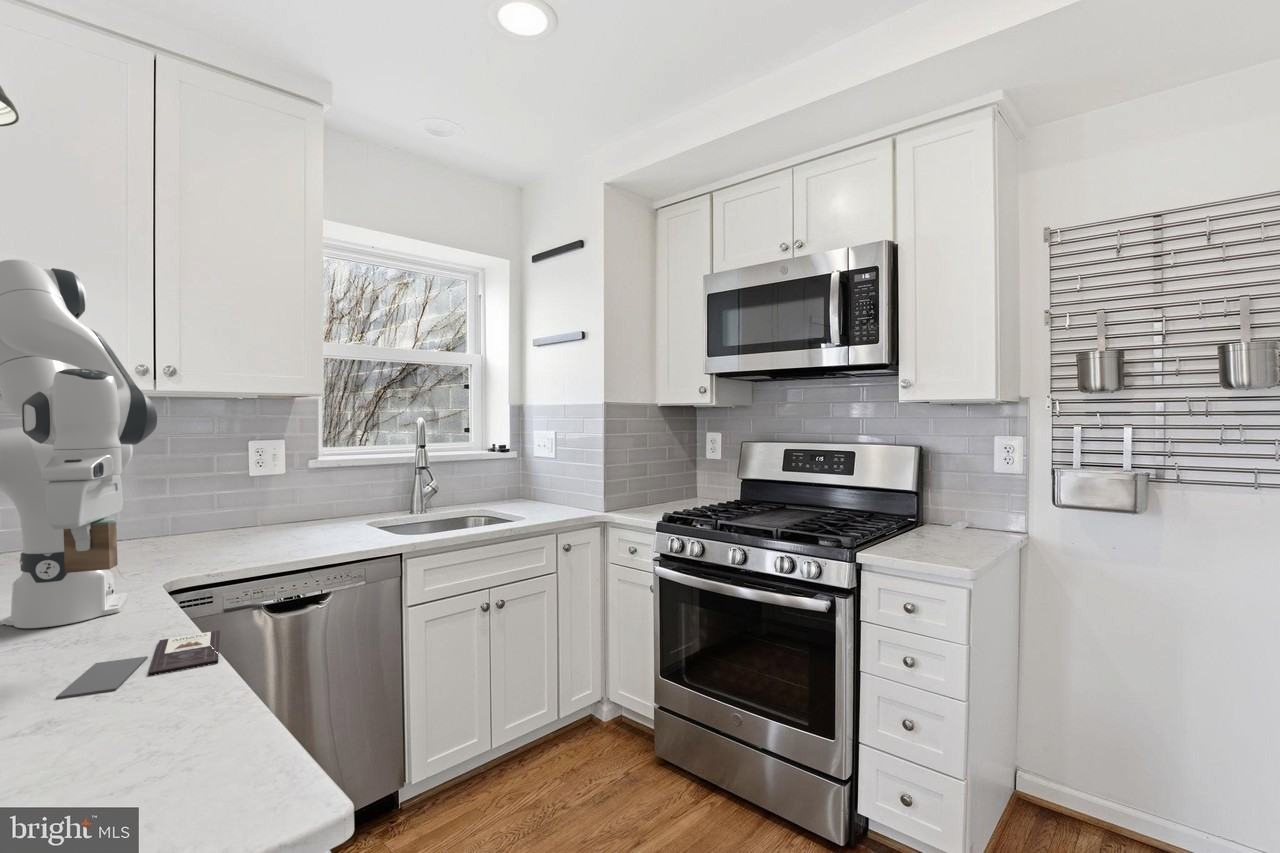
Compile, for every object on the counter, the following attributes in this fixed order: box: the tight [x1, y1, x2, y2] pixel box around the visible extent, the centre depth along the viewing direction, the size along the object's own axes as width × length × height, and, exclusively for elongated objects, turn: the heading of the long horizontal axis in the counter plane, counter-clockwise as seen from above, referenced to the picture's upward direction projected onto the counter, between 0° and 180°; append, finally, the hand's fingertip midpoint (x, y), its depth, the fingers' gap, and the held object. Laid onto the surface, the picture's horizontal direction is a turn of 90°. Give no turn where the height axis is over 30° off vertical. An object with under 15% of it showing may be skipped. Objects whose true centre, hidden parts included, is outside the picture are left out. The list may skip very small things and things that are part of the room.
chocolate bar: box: [148, 630, 221, 676], centre depth 111 cm, size 9×1×18 cm
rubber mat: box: [55, 655, 149, 700], centre depth 101 cm, size 14×7×1 cm, turn 22°
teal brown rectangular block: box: [63, 518, 118, 573], centre depth 110 cm, size 4×6×8 cm, turn 112°
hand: (90, 547), depth 110 cm, fingers closed on teal brown rectangular block, 3 cm apart
